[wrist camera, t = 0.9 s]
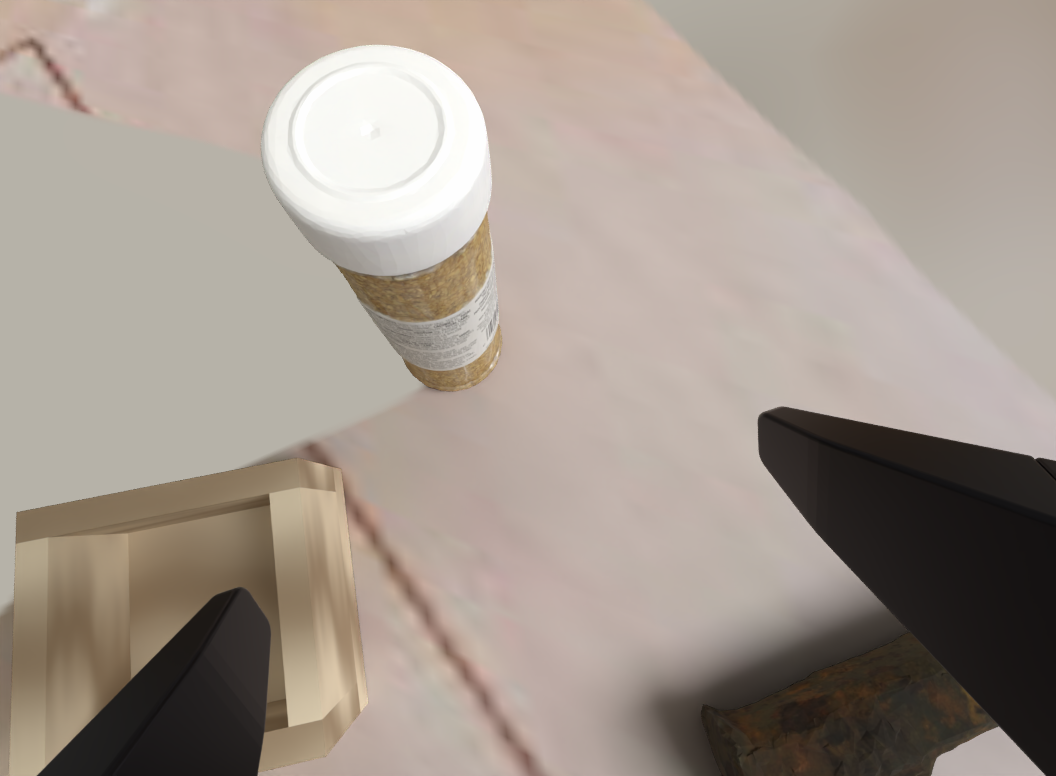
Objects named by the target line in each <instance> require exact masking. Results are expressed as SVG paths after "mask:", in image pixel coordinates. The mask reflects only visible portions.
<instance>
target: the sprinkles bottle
mask: <svg viewBox="0 0 1056 776" xmlns="http://www.w3.org/2000/svg"><path fill="white" fill-rule="evenodd" d="M261 157H262V164H263V168H264V171H265V175H266V178H267V180H268V182H269V185H270V187H271V189H272V191H273V193H274V194H275V196H276V198H277V199H278V201H279V202H280V204H281V205H282V207H283V208H284V209H285V211H286V212H287V214H288V215H289V216H290V218H291V219H292V220H293V222H294V223H295V225H296V226H297V227H298V229H299V230H300V231H301V232H302V234H303V235H304V236H305V238H306V239H307V240H308V241H309V243H310V244H311V245H312V246H313V247H314V248H315V249H316V250H317V251H318V252H319V253H321V254H322V255H323V256H325V257H326V258H327V259H329V260H331V261H332V262H333V263H335V264H336V266H337V267H338V269H339V270H340V272H341V273H343V275H344V277H345V278H346V280H347V281H348V282H349V284H350V286H351V288H352V289H353V291H354V292H355V293H356V295H357V298H358V300H359V301H360V303H361V304H362V306H363V307H364V308H365V310H366V311H367V312H368V314H369V315H370V317H371V318H372V319H373V321H374V322H375V324H376V325H377V327H378V328H379V329H380V330H381V332H382V333H383V334H384V336H385V337H386V338H387V340H388V341H389V342H390V344H391V345H392V346H393V348H394V349H395V350H396V351H397V352H398V354H399V355H400V356H402V358H403V360H404V362H405V364H406V366H407V368H408V369H409V370H410V372H411V373H412V374H413V375H414V377H416V378H417V379H418V380H419V381H421V382H422V383H423V384H425V385H426V386H428V387H431V388H435V389H438V390H442V391H459V390H464V389H468V388H470V387H472V386H474V385H476V384H478V383H479V382H481V381H482V380H483V379H485V378H486V377H487V376H488V375H489V373H490V372H491V371H492V370H493V369H494V367H495V366H496V364H497V362H498V358H499V356H500V353H501V346H502V336H501V330H500V326H499V324H498V320H499V310H498V298H497V286H496V275H495V265H494V254H493V244H492V239H491V235H490V231H489V223H488V217H487V209H488V205H489V202H490V197H491V189H492V176H491V164H490V154H489V146H488V139H487V132H486V126H485V121H484V117H483V114H482V111H481V109H480V107H479V105H478V103H477V101H476V99H475V96H474V95H473V93H472V92H471V90H470V89H469V88H468V86H467V85H466V84H465V83H464V81H463V80H462V79H461V78H460V77H459V76H458V75H457V74H456V73H454V72H453V71H452V70H451V69H449V68H448V67H447V66H446V65H444V64H443V63H441V62H439V61H438V60H436V59H434V58H432V57H430V56H428V55H426V54H423V53H421V52H418V51H415V50H411V49H408V48H403V47H397V46H390V45H364V46H357V47H352V48H348V49H343V50H340V51H337V52H334V53H331V54H329V55H326V56H324V57H322V58H320V59H318V60H316V61H314V62H313V63H311V64H309V65H308V66H306V67H305V68H304V69H302V70H301V71H299V72H298V73H297V74H296V75H295V76H294V77H293V78H292V79H291V80H289V81H288V82H287V83H286V84H285V86H284V87H283V88H282V89H281V90H280V92H279V93H278V95H277V96H276V98H275V100H274V101H273V103H272V105H271V107H270V109H269V111H268V114H267V116H266V119H265V122H264V126H263V131H262V137H261Z"/></svg>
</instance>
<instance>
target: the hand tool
mask: <svg viewBox="0 0 1056 776" xmlns="http://www.w3.org/2000/svg"><path fill="white" fill-rule="evenodd" d="M701 717H702V721H703V725H704V728H705V731H706V733H707V736H708V739H709V742H710V745H711V748H712V751H713V754H714V757H715V759H716V762H717V764H718V767H719V769H720V771H721V773H722V776H931V774H932V770H933V766H934V763H935V761H936V758H937V757H938V756H940V755H941V754H943V753H945V752H948V751H951V750H953V749H954V748H956V747H957V746H958V745H960V744H962V743H965V742H967V741H969V740H971V739H973V738H975V737H976V736H978V735H980V734H982V733H984V732H986V731H989V730H991V729H994V728H996V727H998V725H997V724H996V722H995V721H994V720H993V719H992V718H991V717H990V716H989V715H988V714H987V713H986V712H985V711H984V710H983V709H982V708H981V707H980V706H979V704H978V703H977V702H976V701H975V700H974V699H973V698H972V697H971V696H970V695H969V694H968V693H967V692H966V691H965V690H964V689H963V688H962V686H961V685H960V684H959V683H958V682H957V681H956V680H955V679H954V678H953V677H952V676H951V675H950V674H949V673H948V672H947V671H946V670H945V669H944V667H943V666H942V665H941V664H940V663H939V662H938V661H937V660H936V659H935V658H934V657H933V656H932V655H931V654H930V653H929V652H928V651H927V649H926V648H925V647H924V646H923V645H922V644H921V643H920V642H919V641H918V640H917V639H916V638H915V637H914V636H913V635H912V634H911V633H910V632H909V633H907V634H904V635H902V636H900V637H899V638H898V639H896V640H895V641H893V642H891V643H889V644H887V645H885V646H882V647H880V648H877V649H875V650H872V651H870V652H868V653H866V654H864V655H861V656H857V657H854V658H851V659H849V660H847V661H844V662H841V663H839V664H836V665H834V666H831V667H828V668H825V669H822V670H819V671H816V672H813V673H812V674H811V675H810V676H808V677H807V678H806V679H805V680H802V681H800V682H797V683H795V684H793V685H791V686H790V687H788V688H787V689H784V690H781V691H779V692H777V693H775V694H772V695H770V696H768V697H766V698H764V699H762V700H760V701H758V702H756V703H753V704H750V705H748V706H745V707H742V708H739V709H737V710H720V711H719V710H717V709H715V708H713V707H710V706H708V705H704V704H703V706H702V711H701Z"/></svg>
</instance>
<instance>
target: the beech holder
mask: <svg viewBox="0 0 1056 776" xmlns="http://www.w3.org/2000/svg"><path fill="white" fill-rule="evenodd" d="M16 517H17V518H16V551H15V583H14V617H13V651H12V684H11V718H10V752H9V776H37V775H38V774H39V773H40V772H41V771H42V770H43V769H44V768H45V767H46V766H47V765H48V764H49V763H50V762H51V761H52V759H53V758H54V757H55V756H56V755H57V754H58V753H59V752H60V751H61V750H62V749H63V748H64V747H65V746H66V745H67V744H68V743H69V742H70V741H71V740H72V739H73V738H74V737H75V736H76V735H77V734H78V733H79V732H80V731H81V730H82V729H83V728H84V727H85V726H86V725H87V724H88V723H89V722H90V721H91V720H92V719H93V718H94V717H95V716H96V715H97V714H98V713H99V712H100V711H101V710H102V709H103V708H104V707H105V706H106V705H107V704H108V703H109V702H110V701H111V700H112V699H113V698H114V697H115V696H116V695H117V694H118V693H119V692H120V690H121V689H122V688H123V687H124V686H125V685H126V684H127V683H128V682H129V681H130V680H131V679H132V678H133V677H134V676H135V675H136V674H137V673H138V672H139V671H140V670H141V669H142V668H143V667H144V666H145V665H146V664H147V663H148V662H149V661H150V660H151V659H152V658H153V657H154V656H155V655H156V654H157V653H158V652H159V651H160V650H161V649H162V648H163V647H164V646H165V645H166V644H167V643H168V642H169V641H170V640H171V639H172V638H173V637H174V636H175V635H176V634H177V633H178V632H179V631H180V630H181V629H182V628H183V627H184V626H185V625H186V624H187V623H188V621H189V620H190V619H191V618H192V617H193V616H194V615H195V614H196V613H197V612H198V611H199V610H200V609H201V608H202V607H203V606H204V605H205V604H206V603H207V602H208V601H209V600H210V599H211V598H212V597H213V596H215V595H216V594H219V593H221V592H224V591H227V590H230V589H233V588H236V587H244V588H246V589H247V590H248V591H249V592H250V593H251V595H252V596H253V598H254V599H255V601H256V602H257V604H258V605H259V607H260V608H261V610H262V611H263V613H264V614H265V616H266V617H267V619H268V621H269V623H270V627H271V647H270V662H269V678H268V694H267V709H266V721H265V732H264V738H263V745H262V751H261V757H260V763H259V769H258V772H263V771H267V770H271V769H275V768H280V767H284V766H288V765H292V764H297V763H301V762H305V761H309V760H314V759H318V758H322V757H326V756H327V755H328V753H329V752H330V751H331V749H332V748H333V747H334V746H335V744H336V743H337V742H338V741H339V739H340V738H341V737H342V735H343V734H344V733H345V732H346V730H347V729H348V728H349V727H350V725H351V724H352V723H353V721H354V720H355V719H356V718H357V716H358V715H359V714H360V713H361V711H362V710H363V709H364V707H365V706H366V705H367V704H368V696H367V687H366V679H365V670H364V662H363V653H362V644H361V636H360V627H359V619H358V610H357V601H356V593H355V584H354V576H353V567H352V558H351V550H350V541H349V533H348V524H347V515H346V507H345V498H344V489H343V481H342V472H341V469H339V468H335V467H331V466H327V465H323V464H319V463H315V462H311V461H308V460H304V459H300V458H293V459H288V460H283V461H278V462H273V463H267V464H262V465H257V466H252V467H247V468H242V469H237V470H231V471H226V472H221V473H216V474H211V475H206V476H201V477H195V478H190V479H185V480H180V481H175V482H170V483H165V484H159V485H154V486H150V487H144V488H139V489H134V490H129V491H124V492H118V493H114V494H109V495H103V496H98V497H93V498H88V499H82V500H78V501H73V502H67V503H62V504H57V505H52V506H46V507H41V508H36V509H31V510H26V511H21V512H17V516H16Z"/></svg>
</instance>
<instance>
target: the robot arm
mask: <svg viewBox="0 0 1056 776" xmlns="http://www.w3.org/2000/svg"><path fill="white" fill-rule="evenodd" d="M758 446H759V455H760V458H761V461H762V462H763V464H764V466H765V467H766V468H767V470H768V471H769V472H770V474H771V475H772V476H773V478H774V479H775V480H776V481H777V483H778V484H779V485H780V487H781V488H782V489H783V491H784V492H785V493H786V494H787V496H788V497H789V498H790V500H791V501H792V502H793V504H794V505H795V506H796V508H797V509H798V510H799V511H800V513H801V514H802V515H803V517H804V518H805V519H806V521H807V522H808V523H809V524H810V525H811V527H812V528H813V529H814V530H815V532H816V533H817V534H818V535H819V536H820V537H821V538H822V539H823V540H824V542H825V543H826V544H827V545H828V546H829V547H830V548H831V549H832V550H833V551H834V552H835V553H836V554H837V555H838V556H839V557H840V559H841V560H842V561H843V562H844V563H845V564H846V565H847V566H848V567H849V568H850V569H851V570H852V571H853V572H854V573H855V574H856V575H857V577H858V578H859V579H860V580H861V581H862V582H863V583H864V584H865V585H866V586H867V587H868V588H869V589H870V590H871V591H872V592H873V593H874V595H875V596H876V597H877V598H878V599H879V600H880V601H881V602H882V603H883V604H884V605H885V606H886V607H887V608H888V609H889V610H890V611H891V612H892V614H893V615H894V616H895V617H896V618H897V619H898V620H899V621H900V622H901V623H902V624H903V625H904V626H905V627H906V628H907V629H908V630H909V632H910V633H911V634H912V635H913V636H914V637H915V638H916V639H917V640H918V641H919V642H920V643H921V644H922V645H923V646H924V647H925V648H926V649H927V651H928V652H929V653H930V654H931V655H932V656H933V657H934V658H935V659H936V660H937V661H938V662H939V663H940V664H941V665H942V666H943V667H944V669H945V670H946V671H947V672H948V673H949V674H950V675H951V676H952V677H953V678H954V679H955V680H956V681H957V682H958V683H959V684H960V685H961V686H962V688H963V689H964V690H965V691H966V692H967V693H968V694H969V695H970V696H971V697H972V698H973V699H974V700H975V701H976V702H977V703H978V704H979V706H980V707H981V708H982V709H983V710H984V711H985V712H986V713H987V714H988V715H989V716H990V717H991V718H992V719H993V720H994V721H995V722H996V724H997V725H998V726H999V727H1000V728H1001V729H1002V730H1003V731H1004V732H1005V733H1006V734H1007V735H1008V736H1009V737H1010V738H1011V739H1012V740H1013V741H1014V743H1015V744H1016V745H1017V746H1018V747H1019V748H1020V749H1021V750H1022V751H1023V752H1024V753H1025V754H1026V755H1027V756H1028V757H1029V758H1030V759H1031V761H1032V762H1033V763H1034V764H1035V765H1036V766H1037V767H1038V768H1039V769H1040V770H1041V771H1042V772H1043V773H1044V774H1045V775H1046V776H1056V461H1054V460H1049V459H1044V458H1037V459H1034V458H1033V457H1032V456H1029V455H1024V454H1018V453H1013V452H1008V451H1003V450H998V449H993V448H988V447H983V446H978V445H973V444H968V443H963V442H958V441H953V440H948V439H943V438H938V437H933V436H928V435H923V434H918V433H913V432H908V431H903V430H898V429H893V428H888V427H883V426H878V425H873V424H868V423H863V422H858V421H854V420H849V419H844V418H839V417H834V416H829V415H824V414H819V413H814V412H809V411H804V410H799V409H794V408H789V407H777V408H774V409H771V410H768V411H765V412H763V413H761V414H760V415H759V418H758ZM270 647H271V627H270V623H269V621H268V619H267V617H266V616H265V614H264V613H263V611H262V610H261V608H260V607H259V605H258V604H257V602H256V601H255V599H254V598H253V596H252V595H251V593H250V592H249V591H248V590H247V589H246V588H244V587H236V588H233V589H230V590H227V591H224V592H221V593H219V594H216V595H215V596H213V597H212V598H211V599H210V600H209V601H208V602H207V603H206V604H205V605H204V606H203V607H202V608H201V609H200V610H199V611H198V612H197V613H196V614H195V615H194V616H193V617H192V618H191V619H190V620H189V621H188V623H187V624H186V625H185V626H184V627H183V628H182V629H181V630H180V631H179V632H178V633H177V634H176V635H175V636H174V637H173V638H172V639H171V640H170V641H169V642H168V643H167V644H166V645H165V646H164V647H163V648H162V649H161V650H160V651H159V652H158V653H157V654H156V655H155V656H154V657H153V658H152V659H151V660H150V661H149V662H148V663H147V664H146V665H145V666H144V667H143V668H142V669H141V670H140V671H139V672H138V673H137V674H136V675H135V676H134V677H133V678H132V679H131V680H130V681H129V682H128V683H127V684H126V685H125V686H124V687H123V688H122V689H121V690H120V692H119V693H118V694H117V695H116V696H115V697H114V698H113V699H112V700H111V701H110V702H109V703H108V704H107V705H106V706H105V707H104V708H103V709H102V710H101V711H100V712H99V713H98V714H97V715H96V716H95V717H94V718H93V719H92V720H91V721H90V722H89V723H88V724H87V725H86V726H85V727H84V728H83V729H82V730H81V731H80V732H79V733H78V734H77V735H76V736H75V737H74V738H73V739H72V740H71V741H70V742H69V743H68V744H67V745H66V746H65V747H64V748H63V749H62V750H61V751H60V752H59V753H58V754H57V755H56V756H55V757H54V758H53V759H52V761H51V762H50V763H49V764H48V765H47V766H46V767H45V768H44V769H43V770H42V771H41V772H40V773H39V774H38V775H37V776H257V775H258V769H259V763H260V757H261V751H262V745H263V738H264V732H265V721H266V709H267V694H268V678H269V662H270Z"/></svg>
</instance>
